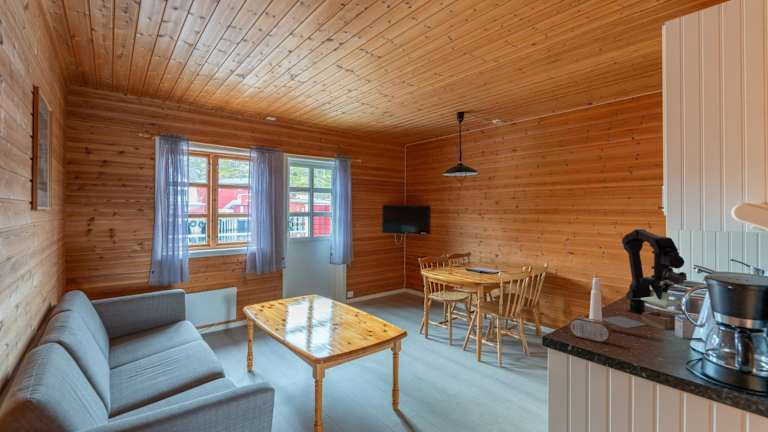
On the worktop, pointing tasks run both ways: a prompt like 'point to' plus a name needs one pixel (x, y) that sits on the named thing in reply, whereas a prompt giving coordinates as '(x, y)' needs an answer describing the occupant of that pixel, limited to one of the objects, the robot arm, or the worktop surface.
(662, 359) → the worktop surface
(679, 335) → the medicine box
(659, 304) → the lid
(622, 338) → the worktop surface
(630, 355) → the worktop surface
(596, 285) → the cosmetic bottle
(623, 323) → the mat
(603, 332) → the tin
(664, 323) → the crate
